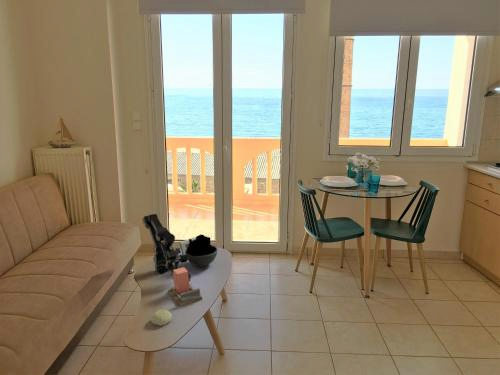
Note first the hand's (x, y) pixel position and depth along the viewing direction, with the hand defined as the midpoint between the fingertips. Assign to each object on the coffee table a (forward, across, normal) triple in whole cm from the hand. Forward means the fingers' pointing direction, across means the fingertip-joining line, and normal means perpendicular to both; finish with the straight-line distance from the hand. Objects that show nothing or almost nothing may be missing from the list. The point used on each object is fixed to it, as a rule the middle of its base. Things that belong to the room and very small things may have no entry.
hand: (176, 275), depth 209 cm
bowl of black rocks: (-8, +24, +19) cm, 31 cm away
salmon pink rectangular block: (+9, 0, -1) cm, 9 cm away
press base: (+13, 0, -2) cm, 13 cm away
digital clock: (-22, +25, +32) cm, 46 cm away
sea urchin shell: (+25, -18, -14) cm, 34 cm away
